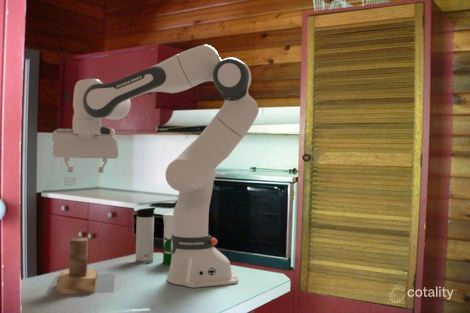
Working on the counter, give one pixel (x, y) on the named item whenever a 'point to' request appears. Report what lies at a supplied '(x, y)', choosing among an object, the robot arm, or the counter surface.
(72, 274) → the walnut column
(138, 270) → the counter surface
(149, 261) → the travel mug
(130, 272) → the counter surface
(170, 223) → the milk carton
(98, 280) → the grey mat
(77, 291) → the oak base block
